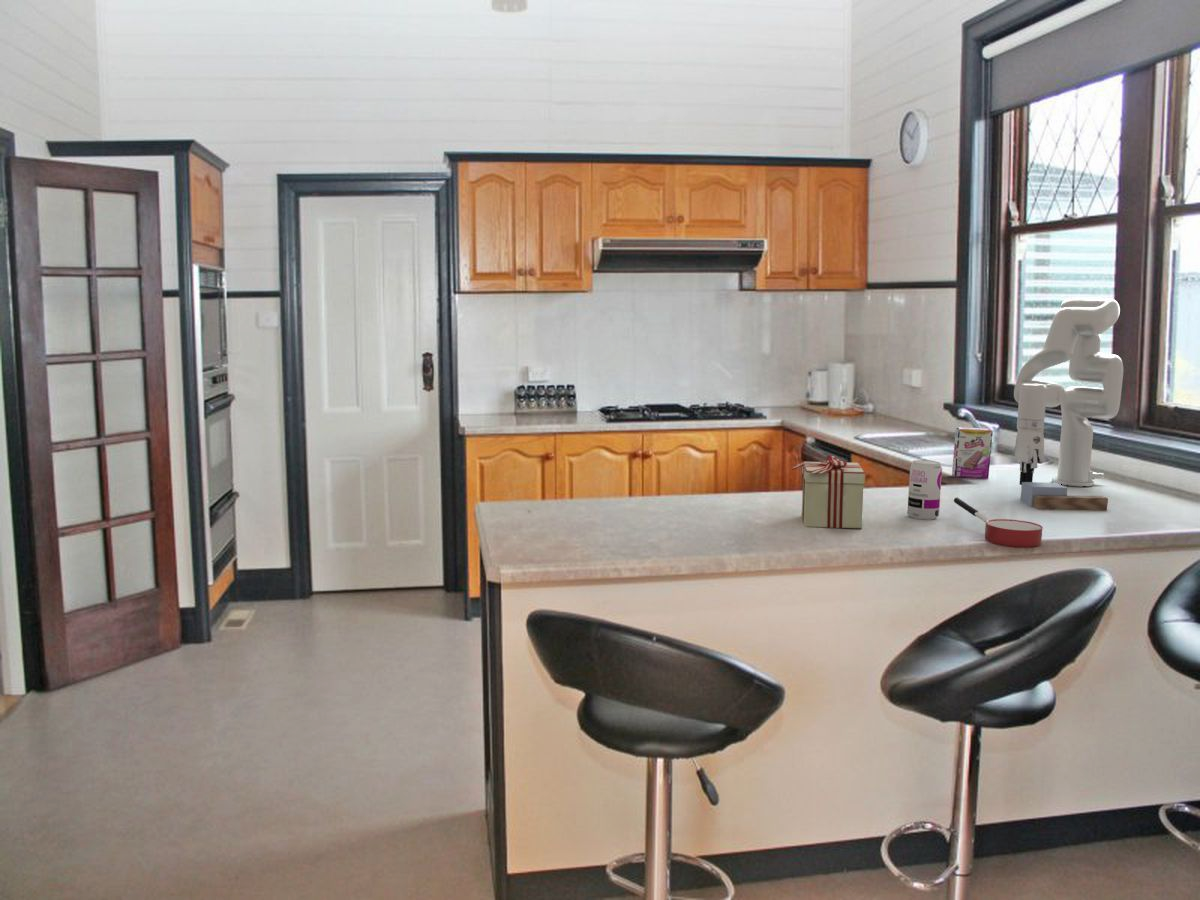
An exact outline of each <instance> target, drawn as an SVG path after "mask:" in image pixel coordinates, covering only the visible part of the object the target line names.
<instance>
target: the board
mask: <svg viewBox="0 0 1200 900" xmlns="http://www.w3.org/2000/svg"><path fill="white" fill-rule="evenodd" d="M1108 501H1109V498H1108V497H1106V496H1103V495H1070V494H1069V495H1068V494H1067V495H1034V501H1033V507H1032V508H1035V509H1037V510H1045V509H1049V510H1053V511H1054V510H1055V509H1062V510H1061V511H1063V510H1064V511H1067V510H1068V511H1108V503H1109V502H1108ZM1049 510H1048V511H1049ZM1045 511H1046V510H1045ZM1055 511H1056V510H1055Z"/></svg>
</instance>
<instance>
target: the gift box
mask: <svg viewBox="0 0 1200 900" xmlns="http://www.w3.org/2000/svg"><path fill="white" fill-rule="evenodd" d="M827 459H828V460H824V461H802V462H801V463H798V464H796V465H795V466H793V467H791V468H790V470H792V471H793V470H797V469H798V468H800V467H801V474H802V490H801V491H802V492H801V493H802V495H801V496H802V497H801V499H802V500H801V520H802V522H803V526H804V527H805V528H825V529H826V528H827V529H856V530H857V529H862V528H863V506H864V505H863V503H864V485H865V484H866V483H865V482H866V472H865V470H864V469H863V468H862V467H861V465H860V464H859V462H846V461H842V460H841V459H839V458H837V457H836V456H834V455H831V454H827Z"/></svg>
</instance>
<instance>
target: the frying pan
mask: <svg viewBox="0 0 1200 900" xmlns="http://www.w3.org/2000/svg"><path fill="white" fill-rule="evenodd" d="M953 502H954V503H955V504H956V505H958V507H960V508H962V509H964V510H965V511H966V512H968V513H969V514H971V515H972V516H974V517H977V518H978V519H980V520H981V521H983V522H984V523H985V528H984V540H985V541H986V542H988V543H990V544H994V545H998V546H1003V547H1010V548H1019V549H1020V548H1021V549H1023V548H1024V549H1025V548H1027V549H1028V548H1035V547H1036V548H1037V547H1039V546H1041V544H1042V541H1043V540H1042V537H1043V526H1042V525H1041V524H1038V523H1035V522H1032V521H1026V520H1020V519H1005V518H1002V519H1001V518H999V519H998V518H997V519H989V518H987V517H986V516H985V515H983V514H981V513H980V512H979V510H977V509H975V508H974V507H973V506H971V505H970V504H968V503H967V502H965V501H963V500H962V499H960V498H959V497H954V498H953Z"/></svg>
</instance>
